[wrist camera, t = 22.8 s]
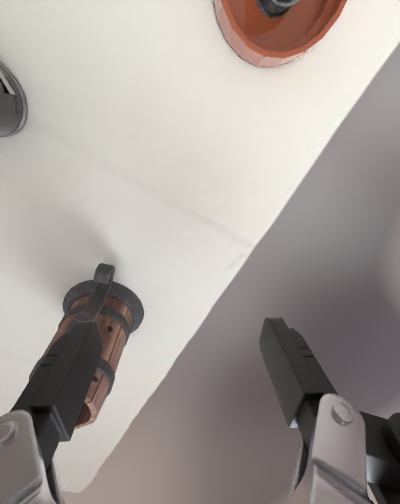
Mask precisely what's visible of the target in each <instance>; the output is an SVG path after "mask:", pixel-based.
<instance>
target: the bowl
mask: <svg viewBox="0 0 400 504" xmlns="http://www.w3.org/2000/svg"><path fill="white" fill-rule="evenodd" d="M346 1H347V0H300V1H298V2H297V3H296V4H294V5H292V6H291V8H290V9H289V10H288V11H287V12H286V13H285V14H284V15H282V16H280V17H277V18H270V17H268V16H266V15H265V14H263V13H262V12H261V10H260V9H259V7H258V5H257V2H256V0H214V4H215V10H216V16H217V21H218V23H219V25H220V28H221V30H222V32H223V34H224V37H225V39H226V41H227V43H228V44H229V45H230V46H231V47H232V48H233V49H234V51H235V52H236V53H237V54H238V55H239V56H240V57H241V58H243V59H244V60H246V61H248V62H250V63H252V64H254V65H256V66H266V67H275V66H278V65H281V64H284V63H287V62H290V61H292V60H293V59H295V58H296V57H298V56H299V55H301V54H302V53H303V52H305V51H306V50H307V49H309V48H310V47H311V46H313V45H314V44H315V43H317V42H318V41H319V40H321V39H322V38H323V37H324V36H325V34H326V33H327V32H328V30H329V29H330V28H331V27H332V25H333V24H334V23H335V21H336V20H337V19H338V18H339V16H340V14H341V12H342V10H343V8H344V6H345V4H346Z"/></svg>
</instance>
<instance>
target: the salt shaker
mask: <svg viewBox="0 0 400 504" xmlns="http://www.w3.org/2000/svg"><path fill="white" fill-rule="evenodd" d="M298 1H300V0H256V2H257V5H258V7H259V9H260V10H261V12H262V13H263V14H265V15H266V16H268V17H270V18H277V17H280V16H282V15H284V14H285V13H286V12H287V11H288V10H289V9H290V8H291V6H292V5H294V4H296V3H297V2H298Z"/></svg>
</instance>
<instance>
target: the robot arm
mask: <svg viewBox="0 0 400 504" xmlns="http://www.w3.org/2000/svg"><path fill="white" fill-rule="evenodd" d="M26 118H27V103H26V99H25V96H24V93H23V91H22V89H21V87H20V85H19V83H18V82H17V80H16V79H15V77H14V76H13V75H12V73H11V72H10V71H9V70H8V69H7V68H6V67H5V66H4V65H3V64H1V63H0V137H7V136H11V135H14V134H16V133H17V132H19V131H20V130H21V129H22V127H23V126H24V124H25V122H26ZM259 343H260V350H261V354H262V356H263V359H264V362H265V364H266V367H267V370H268V373H269V375H270V378H271V381H272V384H273V386H274V389H275V392H276V394H277V397H278V400H279V403H280V405H281V408H282V411H283V413H284V416H285V419H286V421H287V424H288V427H289V428H294V427H298V428H299V430H300V433H301V435H302V436H301V439H300V443H299V448H298V454H297V458H296V464H295V469H294V474H293V479H292V484H291V489H290V493H289V497H288V501H287V504H374V503H373V502H372V501H371V500H370V499H369V497H368V494H367V482H368V484H369V486H370V488H371V490H372V492H373V494H374V496H375V498H376V500H377V502H378V504H400V413H395V414H393V415H392V416H391V417H390V418H389V419H384V418H381V417H377V416H374V415H370V414H367V413H364V412H361V411H359V410H358V409H357V408H356V407H355V406H354V405H353V404H352V403H351V402H349V401H348V400H347V399H345V398H343V397H342V396H339V395H338V394H337V392H336V391H335V389H334V388H333V386H332V384H331V383H330V382H329V380H328V378H327V376H326V375H325V373H324V372H323V370H322V368H321V366H320V365H319V363H318V361H317V360H316V358H314V355H313V353H312V351H311V350H310V349H309V347H308V345H307V343H306V342H305V340H304V338H303V337H302V336H301V335H300V334H299V333H298V332H297V331H296V330H295V329H293V328H289V329H288V327H287V325H286V323H285V322H284V320H283V319H282V318H265V320H264V324H263V328H262V332H261V336H260V342H259ZM101 355H102V340H101V335H100V331H99V327H98V323H97V321H78V322H77V323H76V324H75V326H74V328H73V330H72V331H71V333H65V334H63V335H62V336H61V337H60V338H59V339H57V340H56V341H55V342H54V343H53V344H52V346H51V348H50V349H49V351H48V352H47V354H46V357H44V359H43V360H42V362H41V364H40V367H38V368H37V370H36V372H35V373H34V375H33V376H32V378H31V380H30V381H29V383H28V384H27V386H26V388H25V389H24V391H23V392H22V394H21V396H20V397H19V399H18V400H17V402H16V404H15V405H14V407H13V408H12V409H11V411H10V412H9V413H7V414H5V415H3V416H1V417H0V504H65V501H64V497H63V493H62V488H61V484H60V480H59V475H58V471H57V466H56V462H55V458H54V453H55V451H56V448H57V446H58V443H59V442H63V441H70V439H71V437H72V434H73V431H74V428H75V426H76V423H77V420H78V418H79V415H80V412H81V409H82V407H83V404H84V401H85V399H86V396H87V393H88V391H89V388H90V385H91V382H92V380H93V377H94V374H95V372H96V369H97V366H98V363H99V361H100V358H101Z"/></svg>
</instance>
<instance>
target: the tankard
mask: <svg viewBox="0 0 400 504" xmlns="http://www.w3.org/2000/svg"><path fill="white" fill-rule="evenodd" d="M114 272H115V267H114V266H112V265H107V264H102V263H101V264H99V265H98V267H97V268H96V271H95V275H94V280H89V281H84V282H82V283H79V284H77V285H75V286H74V287H72V288H71V289H70V290H69V291H68V292H67V294H66V296H65V298H64V301H63V311H64V313H65V315H64V317H63V319H62V320H61V322H60V324H59V327H58V331H57V332H56V334H55V336H54V337H53V339H52V341H51V343H50V344H49V346H48V348H47V349H46V351H45V353H44V355H43V356H42V358H41V359H40V360H39V361H38V362H37V363H36V365H35V367H34V368H33V370H32V372H31V374H30V376H29V381H30V380H31V378H32V376H33V375H34V373H35V372H36V370H37V368H38V367H40V364H41V362H42V360H43V359H44V357H46V354H47V352H48V351H49V349H50V348H51V346H52V344H53V343H54V342H55V341H56V340H57V339H59V338H60V337H61V336H62V335H63V334H65V333H71V331H72V330H73V328H74V326H75V324H76V323H77V322H78V321H97V323H98V327H99V331H100V335H101V340H102V355H101V358H100V361H99V363H98V366H97V369H96V372H95V374H94V377H93V380H92V382H91V385H90V388H89V391H88V393H87V396H86V399H85V401H84V404H83V407H82V409H81V412H80V415H79V418H78V420H77V423H76V426H75V428H74V429H77V428H80V427H83V426H85V425H88V424H91V423H93V422H94V421H95V420H96V418H97V416H98V414H99V411H100V409H101V407H102V405H103V403H104V401H105V399H106V397H107V396H108V395H109V393H110V391H111V389H112V386H113V383H114V380H115V372H116V369H117V366H118V363H119V360H120V357H121V354H122V351H123V348H124V346H125V345H126V343H127V340H128V337H129V334H130V333H132V332H133V331H135V330H136V329H137V328H138V327H139V325H140V324H141V322H142V320H143V315H144V311H143V306H142V303H141V301H140V300H139V298H138V297H137V296H136V295H135V294H134V293H133V292H132V291H131V290H130V289H128V288H127V287H125V286H123V285H121V284H118V283H116V282H112V281H113V277H114Z"/></svg>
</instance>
